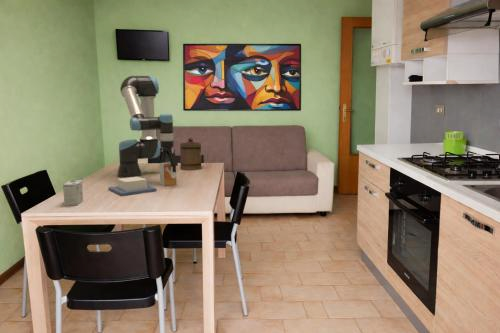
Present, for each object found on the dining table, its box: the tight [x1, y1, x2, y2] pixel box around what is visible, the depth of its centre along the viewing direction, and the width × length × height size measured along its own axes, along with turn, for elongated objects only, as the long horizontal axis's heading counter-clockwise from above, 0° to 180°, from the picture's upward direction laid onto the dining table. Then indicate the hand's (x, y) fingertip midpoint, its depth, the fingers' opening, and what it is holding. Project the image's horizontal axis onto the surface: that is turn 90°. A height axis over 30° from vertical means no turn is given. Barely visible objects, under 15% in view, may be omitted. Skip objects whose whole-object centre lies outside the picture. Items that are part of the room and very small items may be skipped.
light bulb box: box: [62, 179, 84, 207], centre depth 237 cm, size 11×7×11 cm, turn 5°
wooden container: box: [179, 137, 202, 171], centre depth 339 cm, size 15×15×22 cm
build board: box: [107, 176, 157, 197], centre depth 266 cm, size 20×20×6 cm
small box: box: [159, 161, 178, 187], centre depth 282 cm, size 8×6×13 cm
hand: (168, 176), depth 282 cm, fingers open, 13 cm apart
